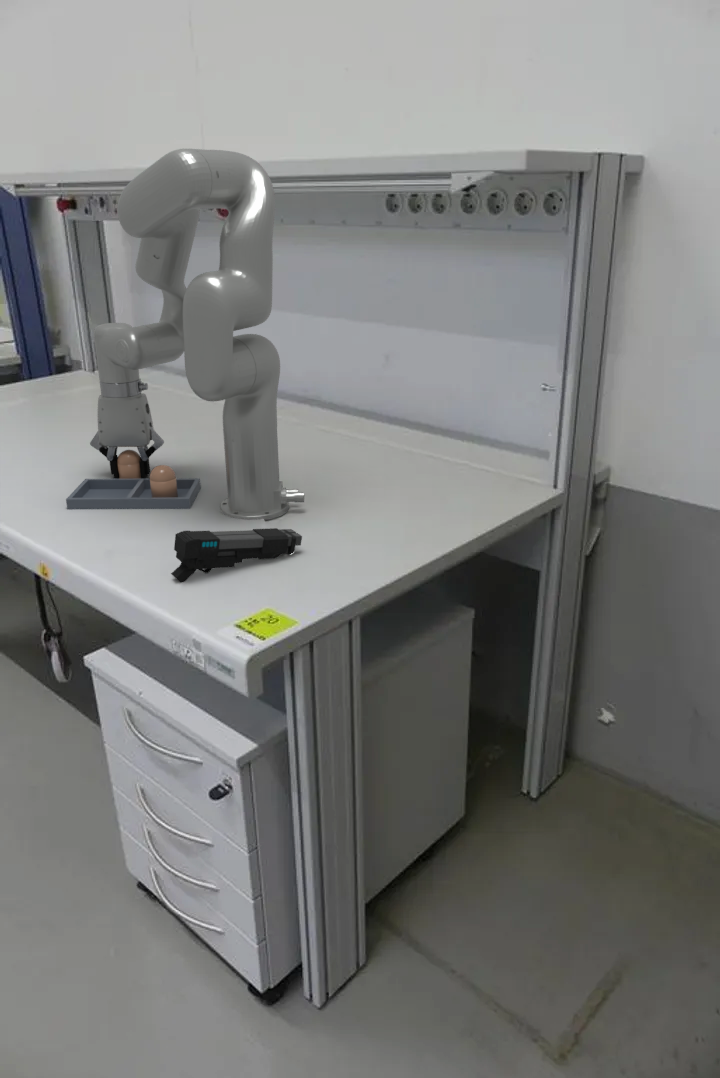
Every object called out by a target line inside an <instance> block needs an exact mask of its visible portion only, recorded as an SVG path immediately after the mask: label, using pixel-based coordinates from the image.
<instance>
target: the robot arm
mask: <svg viewBox="0 0 720 1078" xmlns="http://www.w3.org/2000/svg"><path fill="white" fill-rule="evenodd" d="M209 209H210V210H211V209H212V210H216V209H225V210H227V212H228V215H227V217H226V218H225V221H224V223H223V226H222V229H221V232H220V236H219V265H218V270H212V271H208V272H207V271H206V272H203V273H200V274H198V275H196V276H195V277H194V278H193V279H191V281H190V282H189V284H188V285H187V287H186V284H185V278H186V277H185V276H186V274H187V269H188V265H189V262H190V257H191V253H192V248H193V245H194V239H195V236H196V231H197V227H198V222H199V218H200V211H201V210H209ZM275 216H276V196H275V191H274V186H273V183H272V180H271V178H270V176H269V174H268V173H267V171H266V170H265V167H264V166H262V165H261V164H260V163H259V162H258V161H257V160H255V159H254V158H252V157H250V156H249V155H246V154H244V153H240V152H236V151H230V150H221V149H203V148H202V149H201V148H200V149H199V148H179V149H175V150H172V151H169V152H168V153H166V154H164V155H163V156H162V157H160V158H159V159H158V160H156V161H155V162H154V163H152V164H151V165H149V167H147V168H145V169H144V170H143V171H142V172H140V173H139V174H138V175H136V176H135V177H134V178H133V179H132V180H130V181H129V183H127V184H126V186H125V187H124V188H123V190H122V191H121V194H120V196H119V198H118V202H117V217H118V220H119V224H120V226H121V227H122V229H123V230H124V232H125V233H126V234H128V235H129V236H131V237H134V238H136V239H140V243H139V246H138V247H139V248H138V252H137V258H136V261H135V272H136V274H137V276H138V277H139V278H140V279H141V280H142V281H144V282H145V283H146V284H147V285H150V286H152V287H154V288H155V289H157V290H161V293H162V298H163V300H162V301H163V304H162V309H161V314H160V319H159V322H155V323H154V322H153V323H148V324H142V325H139V326H133V327H132V325H130V323H129V324H128V323H126V322H125V323H124V322H107V323H102V324H98V325H97V326H95V327H94V330H93V341H94V350H95V355H96V364H97V365H96V366H97V372H98V378H99V380H98V381H99V387H100V393H101V394H100V395H98V397H97V398H98V400H97V432H96V433H95V435H94V436H93V438H92V439H91V440H90V442H89V444H90V446H91V447H92V448H94V449H96V450H97V451H98V452H99V453H100V454H102V455H103V456H104V457H105V458H106V460H107V461H109V467H110V475H113V479H119V473H118V465H117V459H118V455H117V454H118V448H137V451H138V454H139V455H140V457H141V460H140V461H139V465H140V474H141V478H148V476H149V475H150V473H151V467H150V465H151V464H150V457H151V456H152V455H153V454H154V453H155V452H156V451H157V450H158V449H160V448H161V447H162V446H163V445H164V443H165V440H164V439H163V438H162V437H161V435H159V434H158V433H157V432H156V430H155V428H154V424H153V423H154V422H153V418H152V414H151V413H152V412H151V408H150V404H149V401H148V397H147V394H146V393H143V391H148V389H149V385H148V382H143V381H142V379H141V378H140V370H143V369H147V368H152V367H154V366H158V365H163V364H166V363H167V364H168V363H170V362H171V363H172V362H175V361H176V360H178V359H179V358H181V356H182V355H183V356H184V369H185V375H186V380H187V382H188V385H189V387H190V389H191V390H192V391H193V393H194V394H195V395H196V396H197V397H198V398H200V399H201V400H204V401H206V402H213V403H214V402H221V401H224V403H223V410H222V431H223V445H224V447H223V448H224V461H225V476H226V487H227V488H226V489H227V498H225V499H224V500H222V501H221V503H220V504H219V510H220V512H221V513H222V515H225V516H226V517H229V518H232V519H237V520H245V521H246V520H249V521H250V520H254V521H255V520H264V521H268V520H273V519H276V518H279V517H281V516H283V515H285V513H287V512H288V511H289V509H290V503H305V491H299V490H300V489H299V488H289V489H287V488H286V487H283V486H284V483H283V481H282V480H280V468H279V467H280V466H279V465H280V464H279V444H278V443H279V442H278V441H279V440H278V438H279V437H278V411H277V410H278V409H277V408H278V407H277V403H278V402H277V400H278V399H277V398H278V391H279V389H278V388H279V381H280V375H281V360H280V355H279V352H278V349H277V347H276V346H275V345H274V344H273V342H272V341H271V340H270V339H269V338H267V337H265V336H263V335H261V334H257V333H244V334H240V335H239V334H238V335H234V332H236V331H239V330H244V329H249V328H252V327H256V326H259V325H262V324H263V323H265V322H266V321H267V320H268V319H269V317H270V315H271V313H272V307H273V306H272V305H273V269H274V268H273V267H274V266H273V263H274V262H273V261H274V259H273V257H274V256H273V255H274V254H273V241H274V240H273V237H274V224H275ZM151 441H153V444H152V445H150V443H151ZM148 445H150V447H148Z"/></svg>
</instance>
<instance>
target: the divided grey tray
mask: <svg viewBox="0 0 720 1078" xmlns="http://www.w3.org/2000/svg"><path fill="white" fill-rule="evenodd" d="M176 483H177V493H178V497H154V498H152V494H151V485H150V477H149V478H148V477H147V478H137V479H114V478H84V479H83V480H82V481H81V483H80V484H79V485H78V486H77V487H76V488H75V489H74V491H72V492H71V493H70V495H69V496H67V498H66V499H65V502H66V509H67V510H183V509H184V510H190V509H191V508H192V506H193V504H194V502H195V500H196V498H197V496H198V494H199V492H200V490H201V488H202V485H201V478H200V477H199V478H198V477H194V478H191V477H189V478H188V477H185V478H183V477H180V478H178V477H176Z"/></svg>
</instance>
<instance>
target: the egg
mask: <svg viewBox="0 0 720 1078" xmlns="http://www.w3.org/2000/svg"><path fill="white" fill-rule="evenodd" d="M117 457H118V459H117V465H118V473H119V479H137V478H141V474H140V465H139V461H140V460H141V456H140V454H139V452H137V451H136V450H133V449H125V450H122V451H121V452H120V453H119V454H118V455H117Z"/></svg>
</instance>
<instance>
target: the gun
mask: <svg viewBox="0 0 720 1078" xmlns="http://www.w3.org/2000/svg"><path fill="white" fill-rule="evenodd" d="M302 539H303V535H301V534H300V533H298V532H297V531H295V530H293V529H292V528H283V529H281V528H253V529H252V530H251V529H250V530H224V531H223V530H221V531H220V530H219V531H217V530H216V531H210V530H182V531H179V532H177V533H175V537H174V544H173V545H174V547H173V550H174V551H175V552H176V555H175V557H176V558H177V560H178V561H180V562H181V563H180V565H178V566H177V567H176V568H175V569H174V570H173V571H172V572H171V573H170V574H171V575H172V576H173V577H174V578H175V579H176V581H178V582H179V583H185V582H187V580H188V579H190V577H191V576H192V575H193V574H194V573H196V572H197V570H198V571H200V572H201V573H202V572H203V573H204V574H209V573H211V571H212V570H213V569H223V568H224V569H225V568H235V565H236V564H242V563H243V561H244V560H252V559H253V560H256V559H258V560H268V559H269V560H271V559H273V560H274V559H275V558H276V559H277V558H278V557H280V556H282V555H290V554H291V553H293V552H295V549H296V546H297V547H298V546H301V545H302V541H303V540H302Z"/></svg>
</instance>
